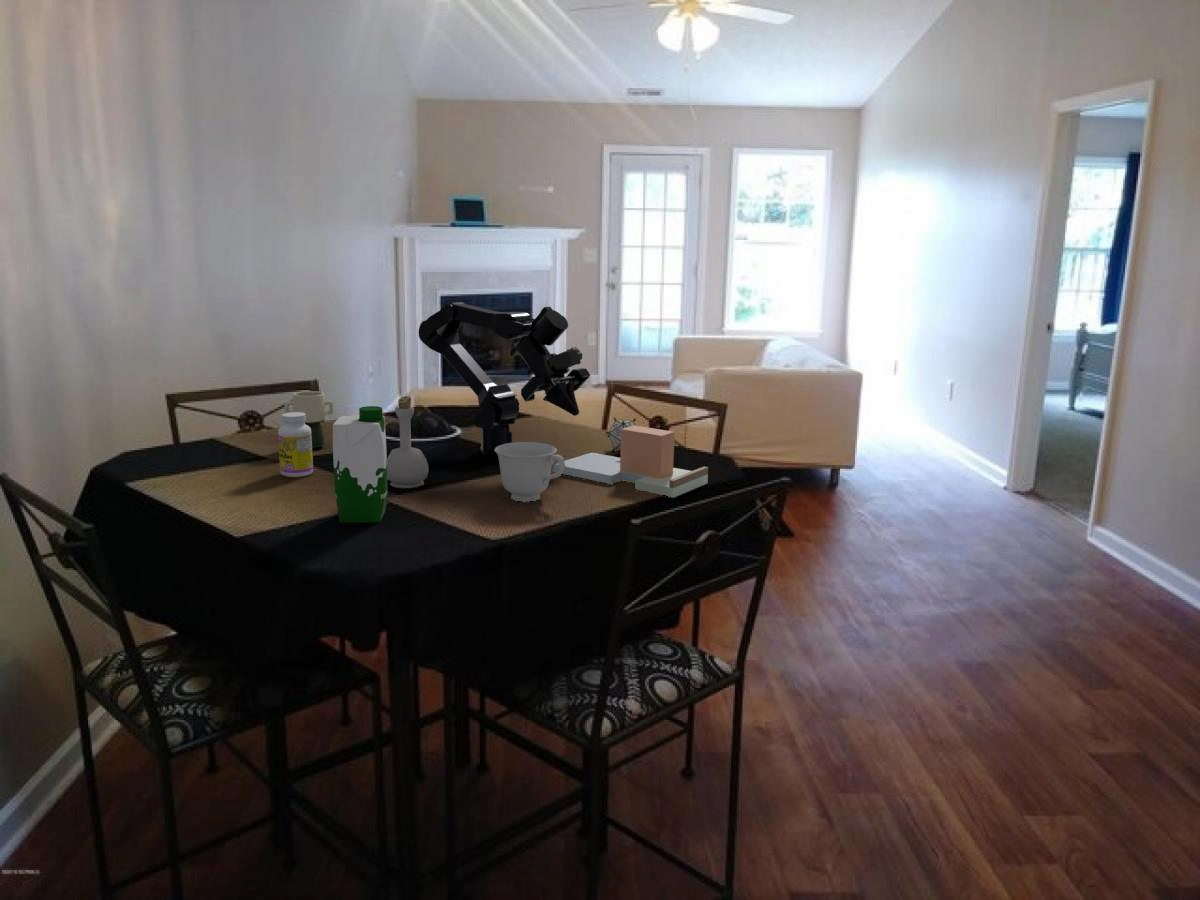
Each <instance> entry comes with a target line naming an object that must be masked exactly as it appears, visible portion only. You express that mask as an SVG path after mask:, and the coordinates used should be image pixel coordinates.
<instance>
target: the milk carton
mask: <svg viewBox="0 0 1200 900" xmlns="http://www.w3.org/2000/svg"><path fill="white" fill-rule="evenodd" d="M358 411H359V413H358V414H355V415H341V416H340V417H338V418H337V419H336V421H335V422H333V424H332V456H333V457H332V458H333V459H332V460H333V479H334V495H335V501H336V509H337V514H338V522H339V523H341V524H342V523H381V521H382V519H383V517H384V515H385V513H386V510H387V508H386V507H387V499H388V497H387V496H388V479H387V458H388V456H387V437H386V418H385V416H384V415H383V408H382V407H381V406H375V405H374V406H373V405H372V406H371V405H368V406H362V407H359V408H358Z"/></svg>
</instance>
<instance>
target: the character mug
mask: <svg viewBox="0 0 1200 900" xmlns="http://www.w3.org/2000/svg"><path fill="white" fill-rule="evenodd" d="M325 397H326V396H325V393H324V392H322V391H317V390H315V391H314V390H307V391H305V390H304V391H298V392H294V393H292V400H290V401H289V400H286V401H285V402H284V414H285V413H291V412H301V413H305V415H306V420H305V425H308V426H309V427H310V428H311V436H312V449H315V448H317V447H318V448H320V447H322V446H324V445H326V442H325V436H324V435H325V434H324V431H323V425H322V424H321V421H322V422H323V421H324V420H325V418H326V415H333V414H334V412H335V410H334V409H335V408H334V401H333V400H325V399H326V398H325ZM326 405H328V408H329V409H328V410H326ZM290 406H292V407H293V409H292V410H290Z"/></svg>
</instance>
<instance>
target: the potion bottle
mask: <svg viewBox="0 0 1200 900" xmlns="http://www.w3.org/2000/svg"><path fill="white" fill-rule="evenodd" d="M411 403H412V398H411V396H409V395H405V396H402V397H400V398H398V399H397V404H398V406H396V407H395V408H394V410H395V415H396V416H397V418H398V420H399V445H400V446H399V447H397V448H393V449H392V450H391V451H390V453H389V454H388V456H387V481H390V483H389V486H390V485H391V487H393V488H395V489H406V488H408V489H414V487H415V488H419V486H420V487H421V486H423V485H425V483H424V480H426V479H428V474H429V469H430V468H429V464H428V459H427V458H426V456H425V455H424V453H423V451H422V450H421V449H420V448H416V447H412V439H411V438H412V433H411V428H412V427H411V419H412V417H413V416H414V413H415V412H414V411H415V407H414V406H411V405H412V404H411Z"/></svg>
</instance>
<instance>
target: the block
mask: <svg viewBox="0 0 1200 900" xmlns="http://www.w3.org/2000/svg"><path fill="white" fill-rule="evenodd" d="M635 425H636V424H635ZM635 425H634V426H630V427H627V428H623V429H621V450H620V457H619V458H620V471H624V472H629V473H634V474H639V475H644V476H649V477H654V478H659V479H661V478H664V477H666V476H669V475H671V474H673V468H674V459H675V457H674V456H675V436H676V435H675V432H676V431H673V430H664V429H659V428H654V427H647V426H640V425H636V426H635Z"/></svg>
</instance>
